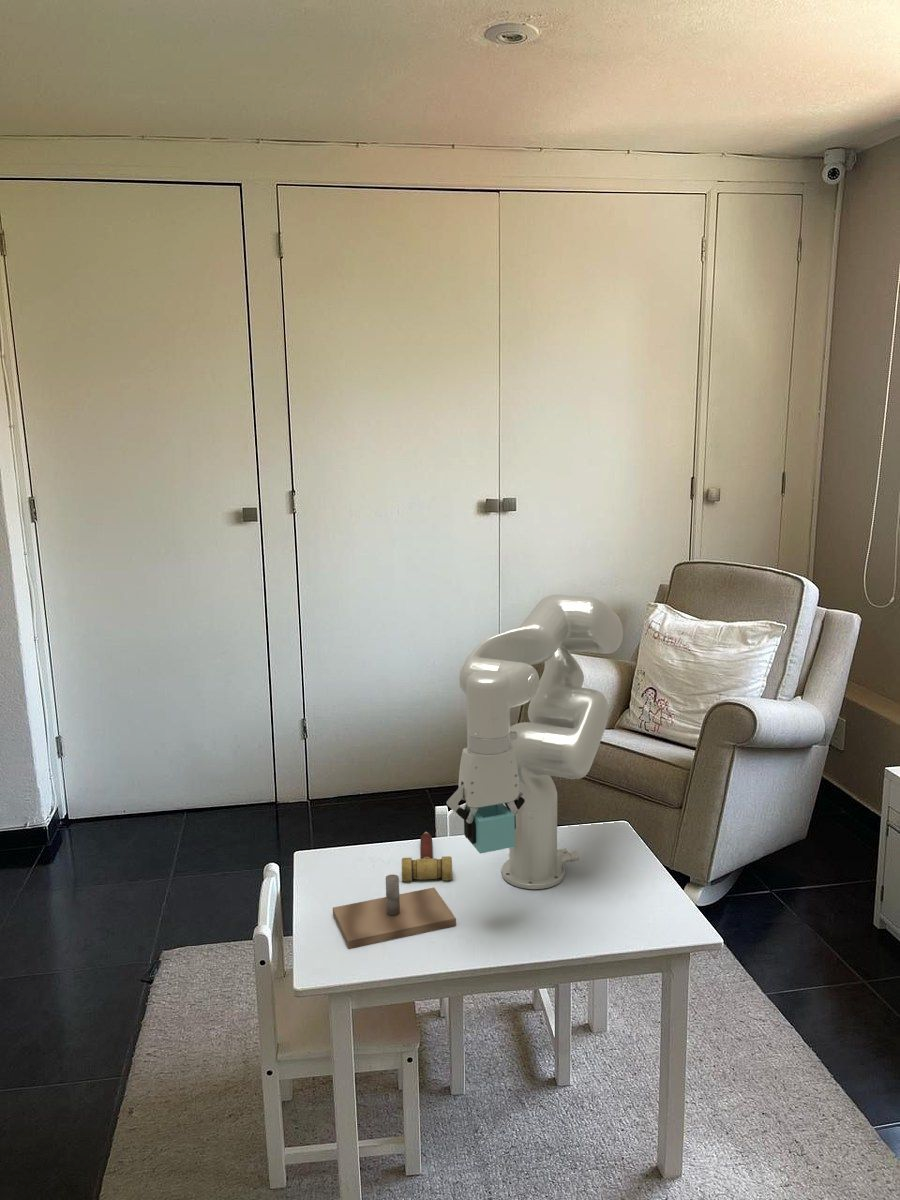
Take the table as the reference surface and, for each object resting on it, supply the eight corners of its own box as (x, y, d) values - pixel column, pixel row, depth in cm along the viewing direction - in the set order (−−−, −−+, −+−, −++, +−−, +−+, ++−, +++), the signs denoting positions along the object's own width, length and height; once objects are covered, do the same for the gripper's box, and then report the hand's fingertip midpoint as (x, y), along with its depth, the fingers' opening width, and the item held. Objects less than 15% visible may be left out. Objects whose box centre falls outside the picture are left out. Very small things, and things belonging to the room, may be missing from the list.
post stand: (434, 894, 179) (433, 853, 178) (455, 925, 168) (455, 882, 166) (332, 914, 173) (330, 872, 171) (348, 948, 162) (346, 904, 160)
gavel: (403, 824, 204) (448, 822, 204) (403, 844, 204) (449, 842, 205) (401, 863, 183) (452, 861, 183) (402, 885, 183) (452, 883, 184)
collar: (500, 831, 169) (499, 800, 168) (514, 846, 163) (514, 815, 162) (466, 837, 167) (465, 806, 166) (480, 853, 161) (479, 821, 160)
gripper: (525, 728, 168) (525, 820, 171) (434, 741, 162) (437, 836, 166) (543, 741, 161) (543, 837, 165) (449, 756, 155) (451, 855, 159)
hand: (490, 836), depth 165 cm, fingers closed on collar, 6 cm apart
